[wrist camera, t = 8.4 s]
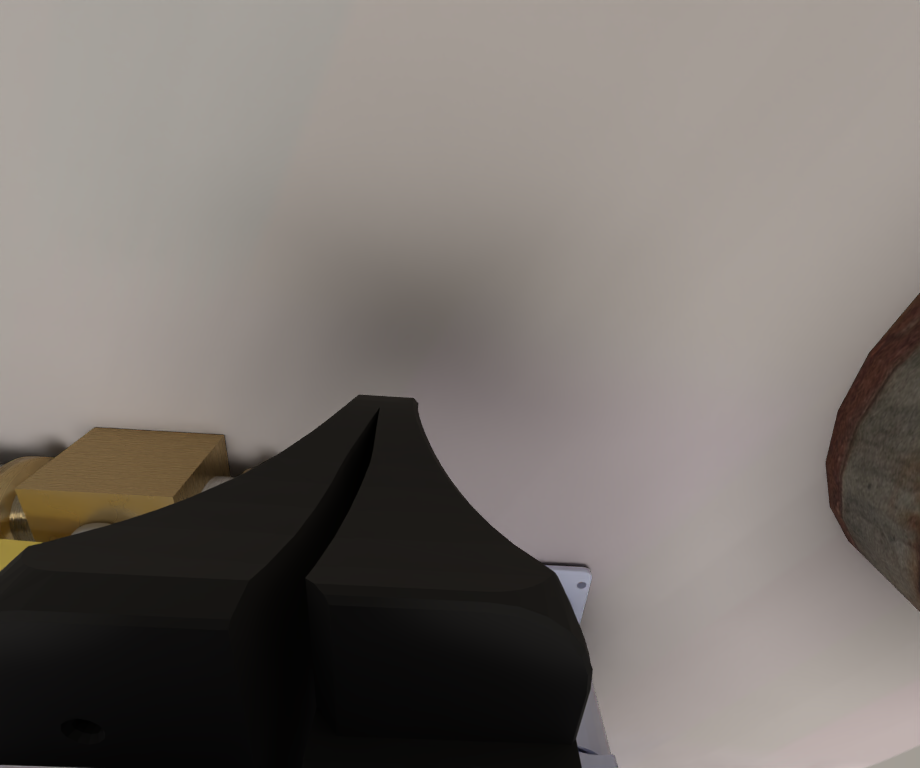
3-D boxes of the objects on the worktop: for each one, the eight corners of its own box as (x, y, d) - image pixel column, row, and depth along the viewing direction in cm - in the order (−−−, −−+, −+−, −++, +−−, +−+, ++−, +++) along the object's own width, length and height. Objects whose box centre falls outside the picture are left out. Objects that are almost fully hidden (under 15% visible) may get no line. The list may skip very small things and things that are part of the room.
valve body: (392, 444, 23) (378, 508, 19) (391, 539, 26) (378, 613, 22) (-82, 417, 23) (-204, 477, 18) (-35, 518, 25) (-132, 590, 21)
